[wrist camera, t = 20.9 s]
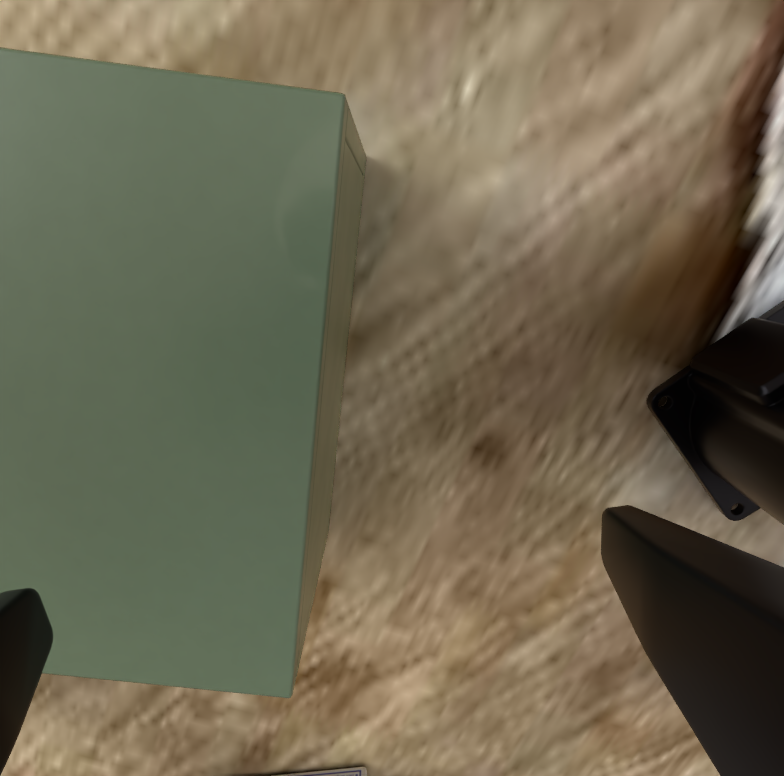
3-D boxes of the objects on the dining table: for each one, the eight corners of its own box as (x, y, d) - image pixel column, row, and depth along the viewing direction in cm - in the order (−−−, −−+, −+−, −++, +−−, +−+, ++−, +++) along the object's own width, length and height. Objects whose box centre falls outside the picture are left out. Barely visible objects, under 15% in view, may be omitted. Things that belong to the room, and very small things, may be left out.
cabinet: (-30, 493, 22) (-277, 642, 14) (-66, 99, 18) (-437, -13, 10) (328, 532, 22) (291, 699, 14) (366, 155, 19) (345, 92, 10)
